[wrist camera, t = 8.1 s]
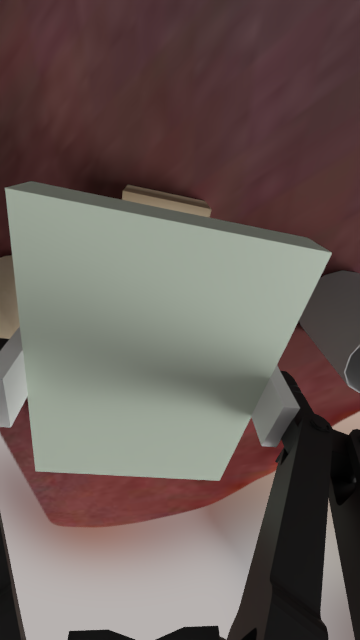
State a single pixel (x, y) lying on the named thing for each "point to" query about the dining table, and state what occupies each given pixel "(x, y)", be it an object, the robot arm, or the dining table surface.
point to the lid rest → (166, 200)
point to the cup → (336, 323)
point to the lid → (148, 329)
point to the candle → (8, 299)
